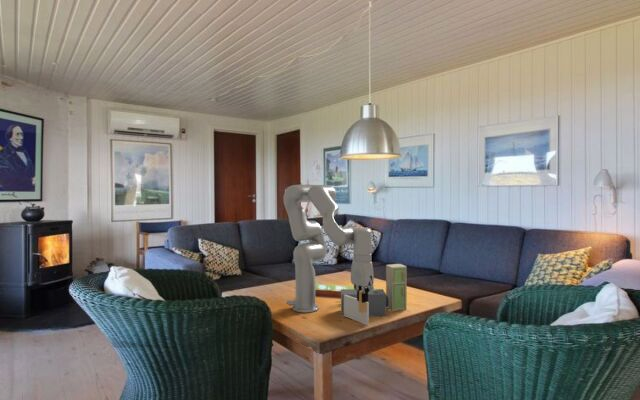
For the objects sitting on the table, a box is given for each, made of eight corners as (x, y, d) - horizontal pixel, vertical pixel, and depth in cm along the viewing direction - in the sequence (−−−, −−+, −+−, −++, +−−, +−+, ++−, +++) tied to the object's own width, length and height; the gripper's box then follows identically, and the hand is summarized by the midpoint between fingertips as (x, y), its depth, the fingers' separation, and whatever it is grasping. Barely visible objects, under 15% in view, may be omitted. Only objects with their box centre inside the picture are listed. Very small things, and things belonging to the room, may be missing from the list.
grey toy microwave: (342, 316, 182) (342, 293, 182) (340, 310, 191) (341, 288, 191) (389, 316, 183) (389, 293, 182) (385, 309, 192) (385, 287, 191)
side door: (339, 316, 180) (339, 284, 179) (345, 315, 182) (345, 283, 181) (362, 326, 168) (363, 291, 168) (368, 324, 170) (368, 290, 170)
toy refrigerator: (392, 311, 189) (392, 267, 188) (385, 307, 196) (385, 264, 195) (407, 310, 191) (407, 266, 190) (400, 305, 198) (400, 263, 198)
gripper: (343, 256, 173) (343, 298, 174) (369, 261, 160) (369, 307, 161) (356, 254, 178) (356, 295, 178) (382, 259, 165) (382, 304, 165)
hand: (362, 300), depth 170 cm, fingers closed on side door, 2 cm apart
